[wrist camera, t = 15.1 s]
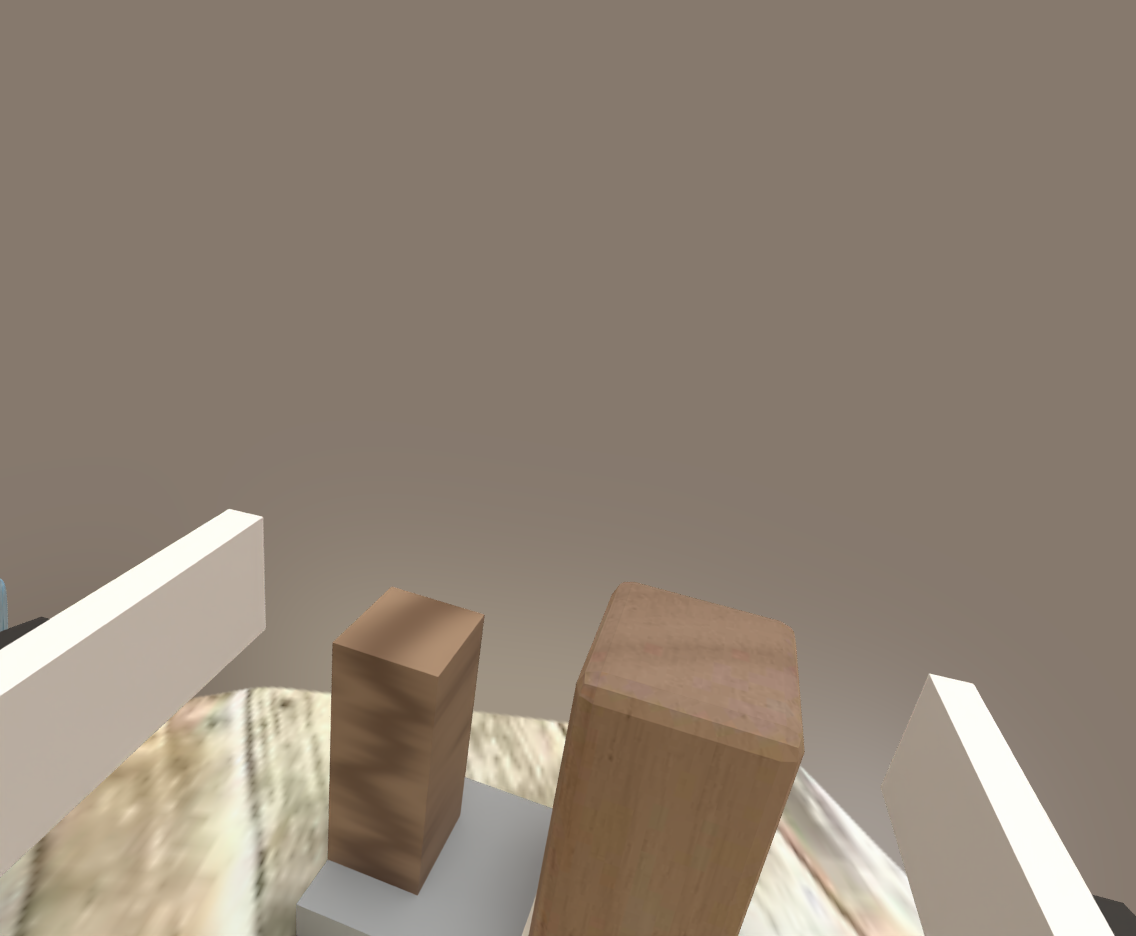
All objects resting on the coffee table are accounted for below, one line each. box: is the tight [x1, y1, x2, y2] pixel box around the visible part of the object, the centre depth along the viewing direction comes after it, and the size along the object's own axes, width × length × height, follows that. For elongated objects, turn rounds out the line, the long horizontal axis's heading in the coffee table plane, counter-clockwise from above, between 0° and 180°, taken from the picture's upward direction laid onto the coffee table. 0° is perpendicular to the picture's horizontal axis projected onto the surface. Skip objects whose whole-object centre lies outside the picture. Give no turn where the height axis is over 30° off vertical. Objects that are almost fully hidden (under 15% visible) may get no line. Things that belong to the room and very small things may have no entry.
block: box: [529, 582, 805, 936], centre depth 37 cm, size 10×10×20 cm
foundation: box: [296, 778, 552, 936], centre depth 42 cm, size 24×12×3 cm, turn 74°
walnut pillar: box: [328, 587, 484, 896], centre depth 40 cm, size 6×6×16 cm
